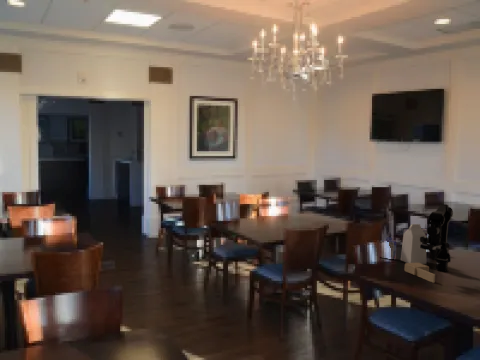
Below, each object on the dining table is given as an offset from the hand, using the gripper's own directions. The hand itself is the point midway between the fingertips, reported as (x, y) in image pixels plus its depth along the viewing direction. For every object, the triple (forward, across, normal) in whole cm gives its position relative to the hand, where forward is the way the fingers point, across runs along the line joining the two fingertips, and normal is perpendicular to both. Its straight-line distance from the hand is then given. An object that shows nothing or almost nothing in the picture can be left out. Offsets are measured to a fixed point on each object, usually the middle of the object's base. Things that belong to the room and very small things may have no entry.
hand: (433, 260), depth 273 cm
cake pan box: (+12, -46, -54) cm, 71 cm away
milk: (+12, -23, -34) cm, 43 cm away
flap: (+12, +4, -2) cm, 12 cm away
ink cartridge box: (+12, -13, -48) cm, 51 cm away
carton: (+12, -2, -13) cm, 18 cm away
